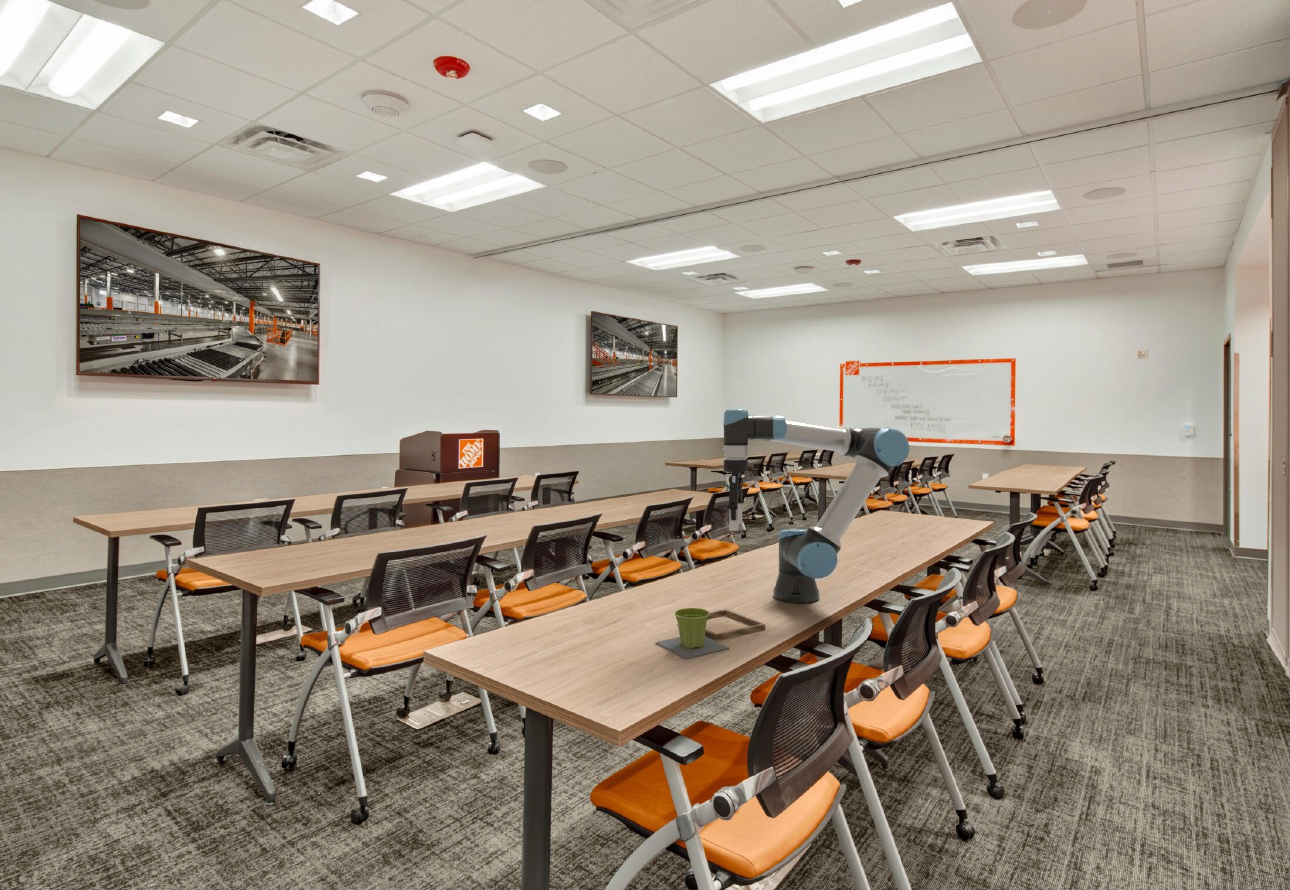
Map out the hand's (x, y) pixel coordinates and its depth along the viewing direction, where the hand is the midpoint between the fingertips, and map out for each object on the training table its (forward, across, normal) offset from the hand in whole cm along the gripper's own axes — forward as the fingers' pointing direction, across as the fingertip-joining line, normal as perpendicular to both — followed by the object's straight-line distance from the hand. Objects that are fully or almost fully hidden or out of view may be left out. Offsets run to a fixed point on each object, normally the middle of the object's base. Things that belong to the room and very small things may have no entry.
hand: (735, 527), depth 203 cm
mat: (+27, +34, -8) cm, 44 cm away
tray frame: (+27, +16, -3) cm, 31 cm away
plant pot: (+26, +34, -8) cm, 44 cm away
